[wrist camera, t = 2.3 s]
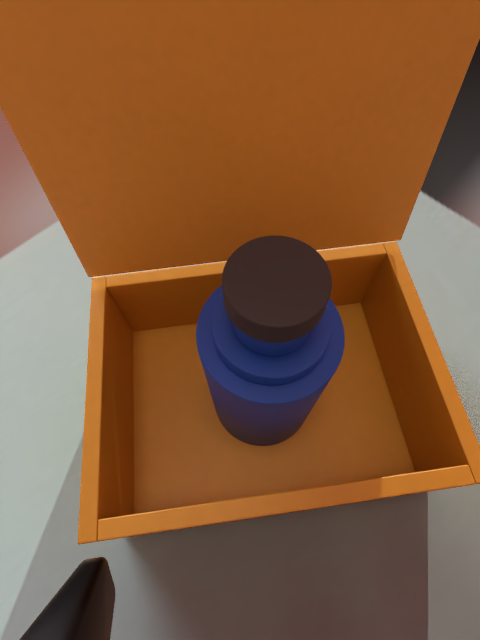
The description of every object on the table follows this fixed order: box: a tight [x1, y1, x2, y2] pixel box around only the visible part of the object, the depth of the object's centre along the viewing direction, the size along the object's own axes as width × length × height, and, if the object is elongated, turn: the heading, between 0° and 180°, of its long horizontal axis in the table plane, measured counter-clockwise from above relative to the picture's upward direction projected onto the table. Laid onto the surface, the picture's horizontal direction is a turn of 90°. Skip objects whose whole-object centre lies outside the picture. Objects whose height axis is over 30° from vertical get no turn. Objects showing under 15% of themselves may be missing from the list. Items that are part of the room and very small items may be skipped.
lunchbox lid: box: [0, 0, 480, 277], centre depth 15 cm, size 12×15×4 cm
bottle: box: [196, 235, 345, 446], centre depth 15 cm, size 5×5×12 cm
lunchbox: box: [78, 241, 480, 544], centre depth 19 cm, size 11×15×6 cm
